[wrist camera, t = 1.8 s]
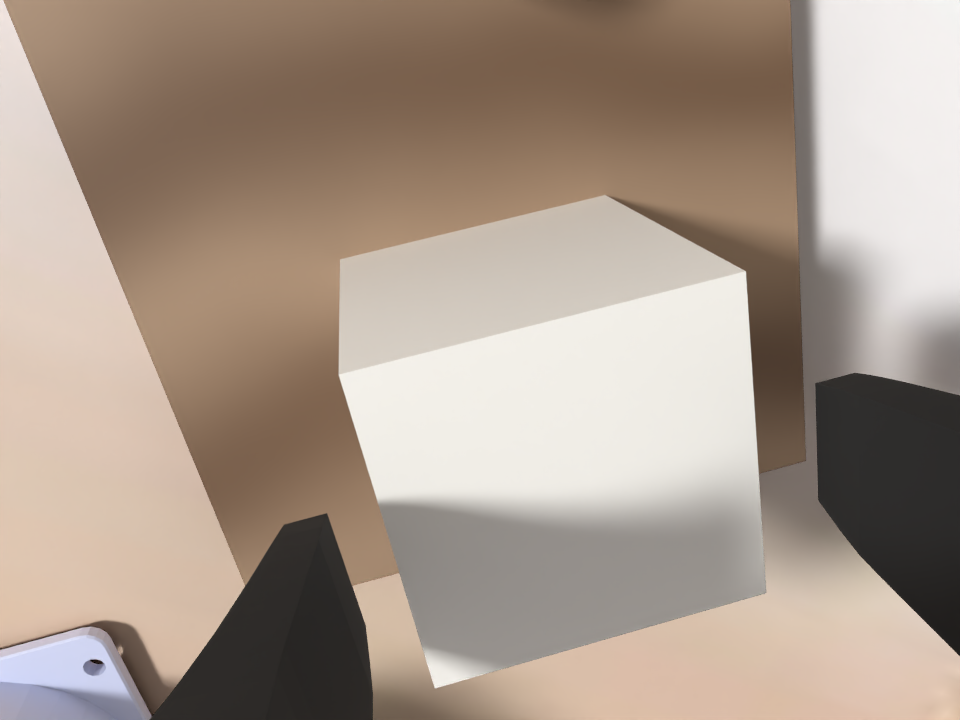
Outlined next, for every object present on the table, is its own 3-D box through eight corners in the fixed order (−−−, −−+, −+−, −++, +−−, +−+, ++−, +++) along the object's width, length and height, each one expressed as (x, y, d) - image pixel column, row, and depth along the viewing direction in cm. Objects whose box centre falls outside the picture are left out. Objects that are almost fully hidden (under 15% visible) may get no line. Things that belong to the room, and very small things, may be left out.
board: (774, 433, 21) (805, 460, 19) (262, 572, 20) (255, 612, 18) (720, -604, 13) (766, -685, 11) (-151, -464, 12) (-217, -533, 10)
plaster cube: (636, 428, 18) (765, 592, 12) (405, 489, 18) (435, 688, 12) (605, 195, 16) (745, 271, 10) (339, 259, 15) (338, 374, 10)
